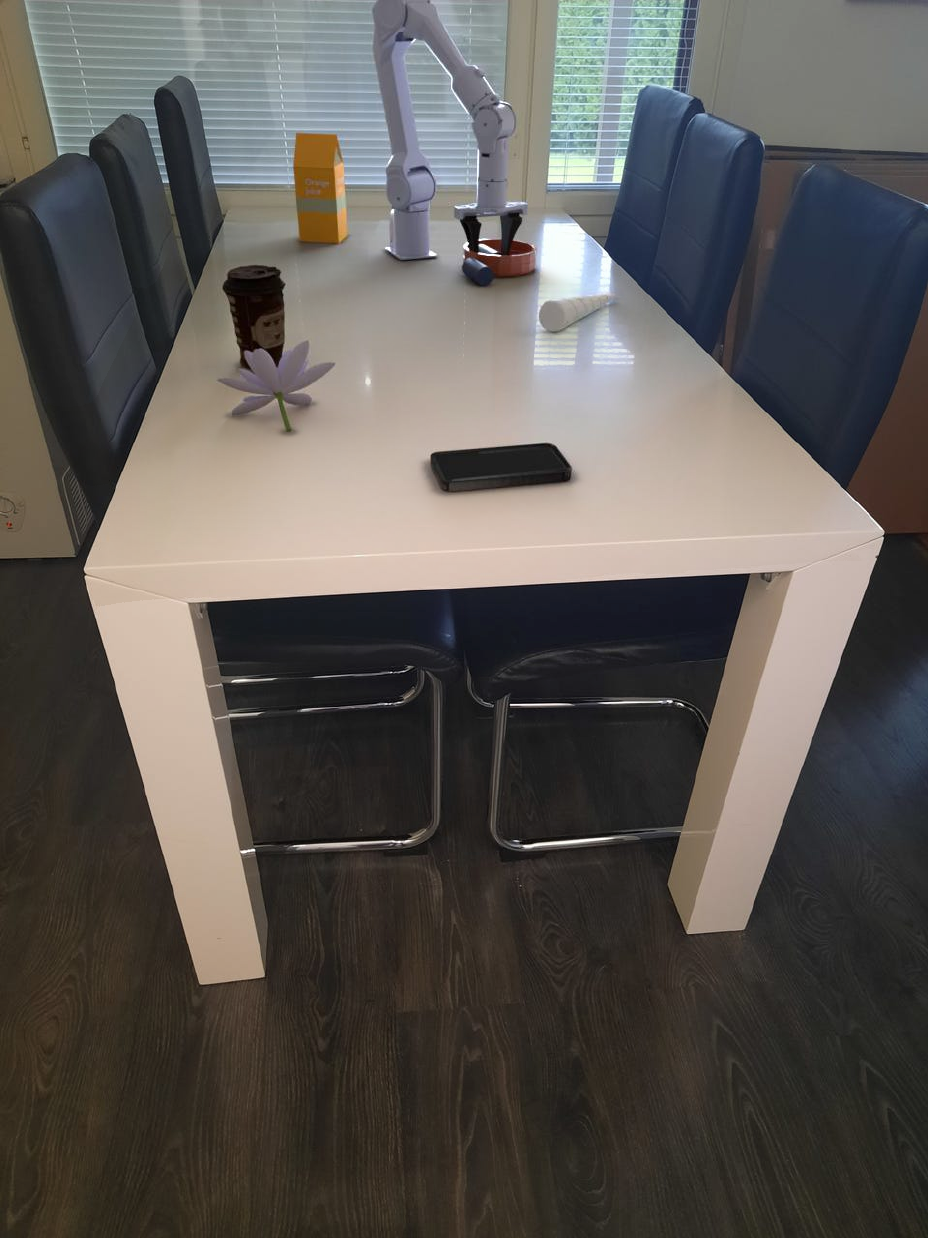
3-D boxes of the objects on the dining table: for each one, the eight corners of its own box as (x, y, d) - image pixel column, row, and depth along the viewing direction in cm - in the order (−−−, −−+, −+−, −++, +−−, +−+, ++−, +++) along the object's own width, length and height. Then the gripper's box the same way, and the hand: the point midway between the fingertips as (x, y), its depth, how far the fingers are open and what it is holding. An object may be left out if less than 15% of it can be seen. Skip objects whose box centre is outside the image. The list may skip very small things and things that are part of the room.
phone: (574, 471, 95) (442, 482, 92) (573, 480, 96) (442, 492, 93) (552, 441, 101) (428, 451, 98) (551, 450, 102) (428, 460, 99)
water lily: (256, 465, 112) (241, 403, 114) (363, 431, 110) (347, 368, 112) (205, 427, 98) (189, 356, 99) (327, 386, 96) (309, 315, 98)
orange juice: (309, 233, 190) (301, 130, 178) (348, 235, 189) (342, 132, 178) (299, 241, 184) (289, 135, 172) (339, 243, 183) (332, 137, 171)
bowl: (452, 262, 172) (452, 241, 170) (515, 256, 177) (516, 236, 174) (481, 280, 162) (482, 258, 159) (547, 274, 166) (549, 252, 164)
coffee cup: (305, 359, 125) (296, 266, 118) (277, 379, 119) (266, 281, 111) (252, 352, 127) (240, 260, 120) (222, 370, 121) (207, 274, 113)
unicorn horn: (632, 302, 152) (636, 274, 149) (560, 335, 137) (563, 305, 134) (609, 297, 154) (612, 269, 151) (536, 329, 139) (537, 299, 136)
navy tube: (461, 258, 161) (478, 256, 162) (462, 277, 164) (478, 274, 165) (476, 268, 156) (493, 265, 157) (477, 287, 158) (493, 284, 159)
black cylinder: (474, 263, 170) (472, 246, 168) (490, 259, 171) (487, 241, 169) (489, 272, 165) (487, 254, 163) (505, 267, 166) (503, 249, 164)
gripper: (465, 184, 154) (463, 264, 162) (536, 180, 159) (531, 258, 167) (450, 178, 159) (449, 255, 167) (519, 174, 164) (515, 249, 172)
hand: (489, 256), depth 167 cm, fingers open, 6 cm apart
